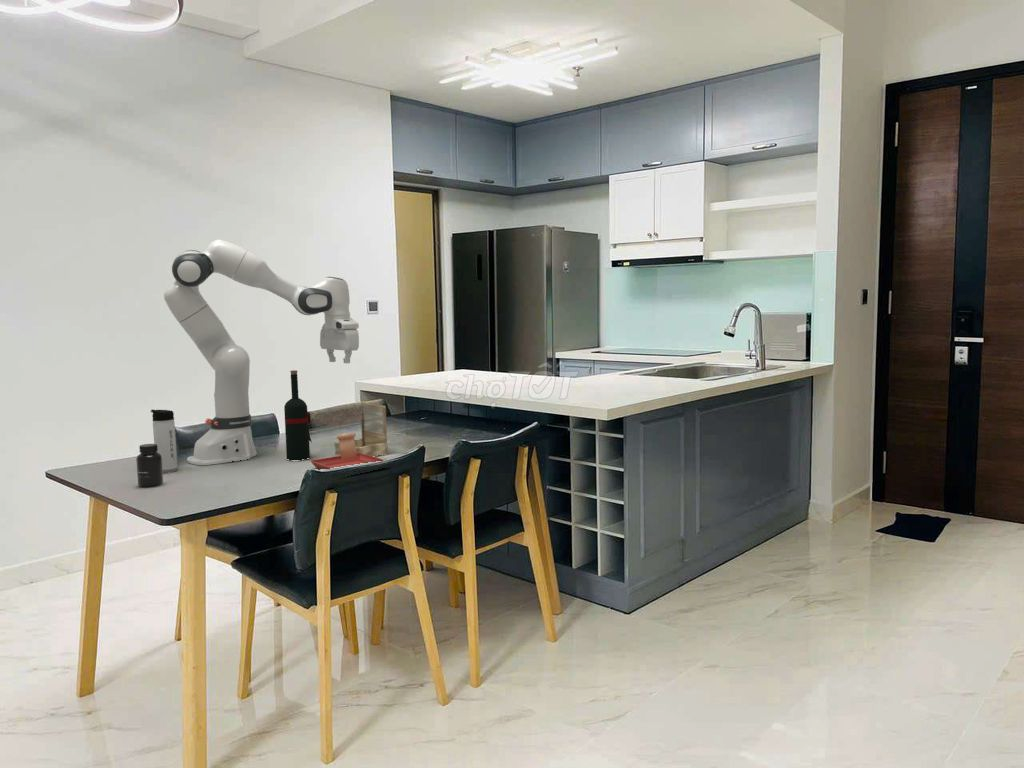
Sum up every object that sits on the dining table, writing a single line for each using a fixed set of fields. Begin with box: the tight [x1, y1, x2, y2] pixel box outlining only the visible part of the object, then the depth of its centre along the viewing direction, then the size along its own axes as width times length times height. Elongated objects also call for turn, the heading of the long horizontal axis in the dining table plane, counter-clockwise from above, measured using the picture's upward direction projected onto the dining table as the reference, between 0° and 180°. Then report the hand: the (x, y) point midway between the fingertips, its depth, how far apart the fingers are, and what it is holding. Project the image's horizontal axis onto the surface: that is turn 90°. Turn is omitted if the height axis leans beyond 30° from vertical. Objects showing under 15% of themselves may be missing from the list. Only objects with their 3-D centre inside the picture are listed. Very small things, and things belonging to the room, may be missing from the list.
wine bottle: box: [284, 370, 313, 460], centre depth 259 cm, size 8×10×30 cm
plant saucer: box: [310, 453, 384, 470], centre depth 243 cm, size 18×18×3 cm
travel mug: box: [150, 409, 179, 474], centre depth 243 cm, size 6×7×20 cm
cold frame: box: [334, 402, 388, 457], centre depth 264 cm, size 12×14×17 cm
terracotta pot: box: [336, 432, 357, 460], centre depth 243 cm, size 6×6×8 cm
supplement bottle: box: [136, 443, 164, 488], centre depth 226 cm, size 7×7×12 cm
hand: (339, 362), depth 271 cm, fingers open, 8 cm apart
